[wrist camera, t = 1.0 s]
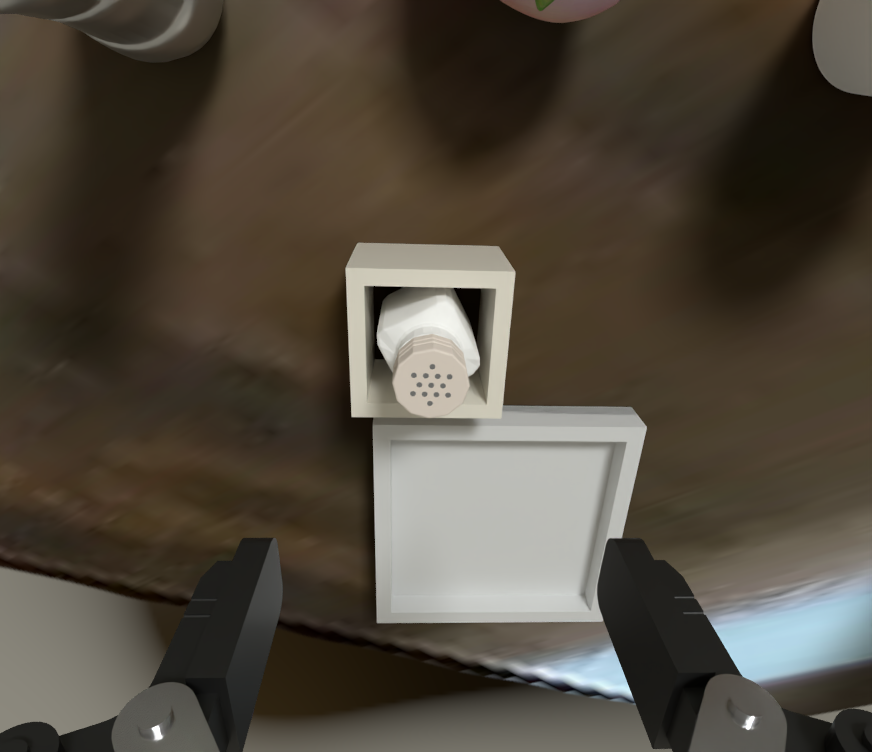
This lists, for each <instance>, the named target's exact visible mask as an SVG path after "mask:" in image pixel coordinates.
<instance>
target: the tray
mask: <svg viewBox="0 0 872 752" xmlns="http://www.w3.org/2000/svg"><path fill="white" fill-rule="evenodd" d="M646 429H647V427H646V426H645V424H644V423H643V422H642V420H641V419H640V418H639V416H638V415H637V414H636V412H635V411H634V410H633V408H632V407H582V406H503V407H502V417H501V419H489V418H391V417H374V419H373V465H374V511H375V558H376V604H377V623H470V622H602V621H603V617H602V614H601V612H600V609H599V604H598V598H597V584H598V579H599V574H600V569H601V565H602V560H603V555H604V551H605V546H606V543H607V540H608V539H609V538H622V534H623V530H624V525H625V521H626V517H627V512H628V508H629V503H630V499H631V495H632V490H633V486H634V482H635V477H636V473H637V469H638V464H639V460H640V455H641V451H642V447H643V442H644V438H645V434H646Z"/></svg>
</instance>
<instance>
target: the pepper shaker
mask: <svg viewBox="0 0 872 752" xmlns="http://www.w3.org/2000/svg"><path fill="white" fill-rule="evenodd" d="M377 345H378V347H379V349H380V351H381V353H382V354H383V356H384V358H385V360H386V362H387V364H388V366H389V367H390V369H391V371H392V373H393V377H392V385H393V389H394V392H395V396H396V400H397V401H398V402H399V403H400V404H401V405H402V406H403V407H404V408H405V409H406V410H407V411H408V412H409V413H411V414H414V415H418V416H422V417H425V418H434V417H440V416H445V415H448V414H450V413H451V412H452V411H454V410H455V409H456V408H457V407H459V406H460V405H461V404H463V402H464V400H465V397H466V395H467V392H468V390H469V387H470V384H469V379H468V377H469V376H471V375H472V374H474V372H475V371H476V370H477V369H478V367H479V366H480V356H479V353H478V349H477V346H476V342H475V338H474V335H473V331H472V327H471V324H470V320H469V318H468V316H467V314H466V312H465V310H464V308H463V306H462V304H461V302H460V300H459V298H458V296H457V294H456V292H455V290H454V288H444V287H403V288H401V289H399V290H397V291H395V292H393V293H391V294H389V295H388V296H387V297H386V298H385V299H384V300H383V302H382V307H381V313H380V318H379V324H378V329H377Z"/></svg>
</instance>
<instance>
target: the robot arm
mask: <svg viewBox="0 0 872 752" xmlns="http://www.w3.org/2000/svg"><path fill="white" fill-rule="evenodd" d="M282 594H283V586H282V577H281V569H280V560H279V552H278V544H277V540H276V538H243V539H242V540H241V542H240V544H239V546H238V549H237V551H236V554H235V556H234V559H233V561H217V562H216V563H215V564H214V565H213V566H212V567H211V568H210V569H209V570H208V571H207V572H206V573H205V574H204V575H203V576H202V577H201V579H200V581H199V583H198V585H197V587H196V589H195V591H194V594H193V596H192V600H191V602H189V604H188V607H187V609H186V611H185V613H184V618H182V620H181V622H180V624H179V626H178V628H177V630H176V632H175V635H174V637H173V639H172V641H171V643H170V646H169V647H168V650H167V652H166V654H165V656H164V658H163V660H162V663H161V665H160V667H159V669H158V671H157V673H156V675H155V678H154V680H153V682H152V683H151V685H150V687H149V688H148V689H146V690H144V691H142V692H141V693H139V694H138V695H137V696H135V697H134V698H133V699H131V700H130V701H129V702H128V703H127V704H126V706H125V707H124V708H123V709H122V710H121V712H120V713H119V715H118V716H115V717H114V718H112V719H109V720H107V721H104V722H101V723H99V724H96V725H92V726H89V727H86V728H83V729H80V730H76V731H73V732H70V733H67V734H64V735H61V736H59V735H58V734H57V732H56V730H55V729H54V728H53V727H52V726H51V725H49V724H47V723H43V722H30V723H24V724H21V725H17V726H15V727H12V728H10V729H8V730H6V731H4V732H2V733H0V752H242V751H243V748H244V744H245V740H246V736H247V733H248V729H249V725H250V722H251V718H252V714H253V711H254V707H255V703H256V699H257V696H258V692H259V688H260V685H261V681H262V677H263V674H264V670H265V666H266V663H267V659H268V655H269V651H270V648H271V644H272V640H273V636H274V633H275V629H276V626H277V622H278V618H279V615H280V610H281V604H282ZM597 598H598V604H599V609H600V612H601V614H602V617H603V620H604V622H605V625H606V628H607V630H608V633H609V635H610V638H611V641H612V643H613V646H614V648H615V651H616V654H617V656H618V659H619V662H620V664H621V667H622V669H623V672H624V675H625V677H626V680H627V682H628V685H629V688H630V690H631V693H632V696H633V698H634V701H635V703H636V706H637V709H638V711H639V714H640V716H641V719H642V721H643V724H644V727H645V729H646V732H647V735H648V737H649V740H650V743H651V745H652V748H653V749H668V748H669V749H672V751H673V752H872V713H871V712H868V711H864V710H860V709H847V710H843V711H842V712H840V713H839V714H838V715H837V716H836V718H835V720H834V722H833V723H830V722H826V721H823V720H818V719H815V718H812V717H809V716H805V715H802V714H798V713H795V712H791V711H788V710H786V709H783V708H781V707H780V706H779V704H778V703H777V702H776V700H775V699H774V698H773V697H772V696H771V695H770V694H769V693H768V692H767V691H766V690H765V689H763V688H762V687H761V686H759V685H758V684H756V683H754V682H753V681H751V680H749V679H746V678H744V677H742V675H741V674H740V672H739V671H738V669H737V667H736V665H735V664H734V662H733V660H732V659H731V657H730V655H729V654H728V652H727V650H726V649H725V647H724V645H723V644H722V642H721V640H720V638H719V637H718V635H717V633H716V632H715V630H714V628H713V627H712V625H711V623H710V622H709V620H708V618H707V617H706V615H704V614H703V610H702V608H701V606H700V605H699V603H698V601H697V600H696V599H694V595H693V593H692V591H691V589H690V588H689V586H688V584H687V583H686V581H685V579H684V578H683V576H682V575H681V574H679V573H678V572H677V571H676V570H675V569H674V568H673V567H672V566H671V565H669V564H668V563H667V562H666V561H665V560H654V559H653V557H652V555H651V553H650V551H649V550H648V548H647V546H646V544H645V543H644V541H643V540H642V539H640V538H609V539H608V540H607V543H606V546H605V551H604V555H603V560H602V565H601V569H600V574H599V579H598V584H597Z"/></svg>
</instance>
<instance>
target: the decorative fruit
mask: <svg viewBox="0 0 872 752" xmlns="http://www.w3.org/2000/svg"><path fill="white" fill-rule="evenodd" d="M500 1H502V2H503V3H505V4H506V5H508V6H510V7H511V8H513V9H515V10H517V11H519V12H521V13H523V14H526V15H528V16H530V17H533V18H536V19H539V20H543V21H548V22H554V23H566V22H574V21H578V20H583V19H587V18H589V17H592V16H594V15H597V14H599V13H601V12H603V11H605V10H606V9H608V8H610V7H612V6H614V5H615V4H617V3H618V2H619V1H620V0H500Z"/></svg>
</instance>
